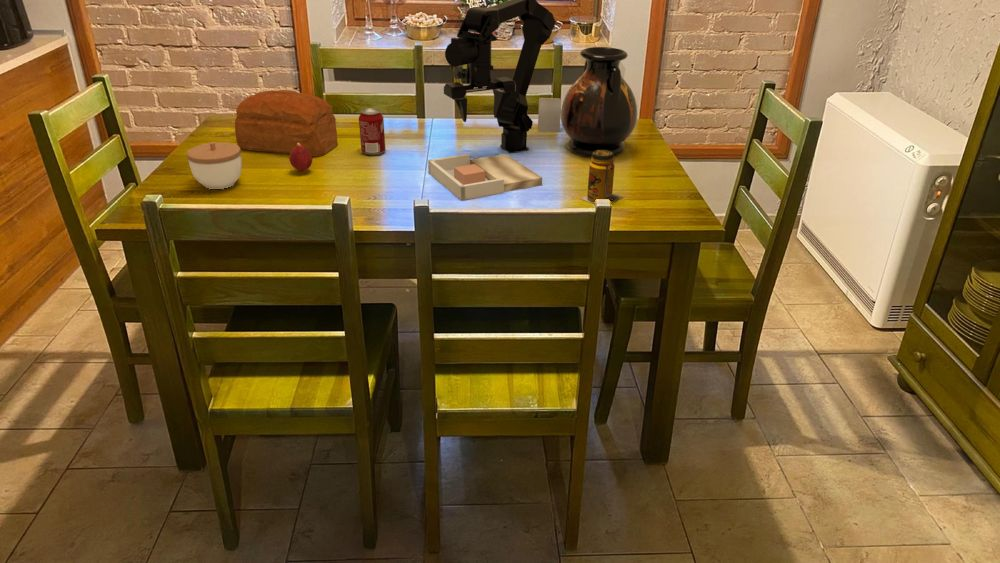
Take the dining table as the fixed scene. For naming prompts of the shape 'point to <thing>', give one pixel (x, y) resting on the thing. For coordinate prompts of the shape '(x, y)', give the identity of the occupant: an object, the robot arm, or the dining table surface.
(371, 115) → the soda can
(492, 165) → the wooden board
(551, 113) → the grey rectangular box
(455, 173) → the block
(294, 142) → the bread
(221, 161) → the lidded bowl
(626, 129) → the amphora vase
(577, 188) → the dining table surface
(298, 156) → the onion
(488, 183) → the box
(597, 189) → the condiment
